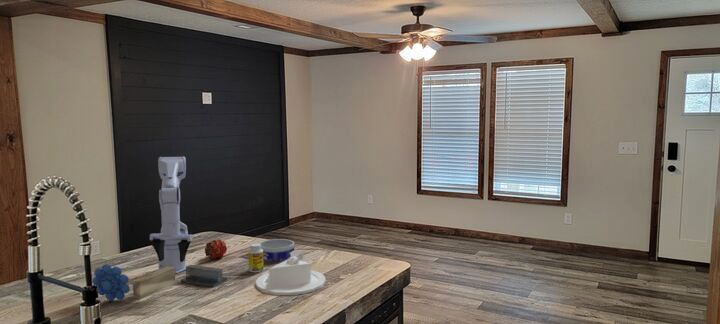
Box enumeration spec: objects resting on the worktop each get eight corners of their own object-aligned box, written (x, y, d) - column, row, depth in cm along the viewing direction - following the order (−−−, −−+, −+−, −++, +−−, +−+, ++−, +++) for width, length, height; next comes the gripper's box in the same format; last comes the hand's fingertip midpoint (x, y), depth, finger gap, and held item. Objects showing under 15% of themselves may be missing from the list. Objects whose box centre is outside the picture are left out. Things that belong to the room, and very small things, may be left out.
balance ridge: (180, 282, 168) (180, 269, 167) (195, 275, 175) (195, 262, 175) (213, 287, 163) (212, 273, 163) (227, 280, 171) (226, 266, 170)
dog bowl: (251, 261, 194) (251, 246, 194) (267, 251, 209) (266, 237, 209) (286, 263, 191) (286, 249, 190) (299, 253, 206) (299, 239, 205)
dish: (297, 267, 186) (297, 240, 185) (339, 283, 168) (339, 253, 167) (242, 282, 169) (242, 252, 168) (283, 302, 151) (282, 268, 150)
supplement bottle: (251, 273, 178) (251, 247, 177) (246, 269, 182) (246, 244, 181) (265, 271, 181) (265, 245, 180) (260, 267, 185) (259, 242, 184)
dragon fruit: (206, 266, 192) (221, 261, 204) (221, 254, 191) (236, 251, 202) (196, 248, 194) (212, 245, 205) (211, 237, 192) (227, 234, 204)
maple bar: (133, 298, 154) (132, 280, 153) (168, 282, 169) (168, 266, 168) (140, 299, 153) (139, 281, 152) (175, 283, 168) (174, 267, 167)
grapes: (86, 306, 147) (84, 268, 146) (97, 297, 154) (95, 262, 152) (123, 305, 147) (122, 268, 146) (133, 297, 154) (131, 261, 153)
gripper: (144, 224, 158) (145, 263, 159) (185, 225, 156) (186, 264, 157) (155, 219, 165) (156, 257, 166) (194, 220, 163) (196, 258, 164)
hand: (172, 260), depth 162 cm, fingers open, 7 cm apart
